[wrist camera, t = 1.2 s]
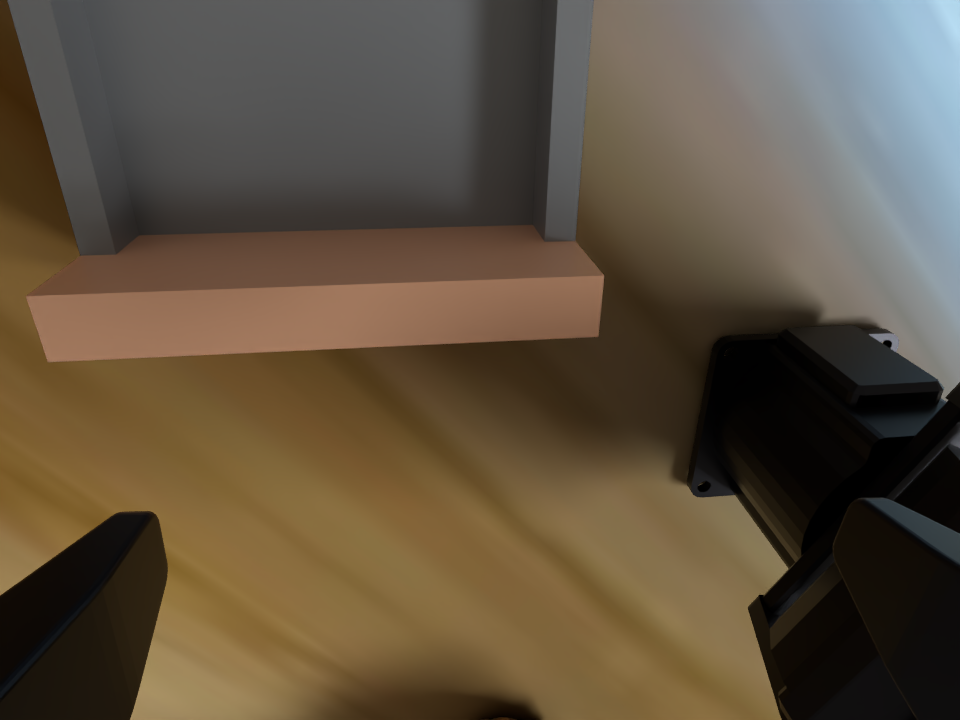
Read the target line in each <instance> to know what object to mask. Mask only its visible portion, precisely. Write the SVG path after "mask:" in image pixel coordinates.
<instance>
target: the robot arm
mask: <svg viewBox="0 0 960 720" xmlns="http://www.w3.org/2000/svg"><path fill="white" fill-rule="evenodd" d="M882 341H884V342H883V344H882V343H881V342H882ZM898 345H899V339H898V337H897V336H896V335H895V334H893V333H891V332H890V331H888V330H887V329H882V328H880V329H859V328H858V327H856V326H854V325H842V326H820V327H798V328H786V329H784V330H782V331H780V332H779V333H773V334H752V335H730V336H725V337H722V338H720V339H719V340H717V342H716V343H715V344H714V346H713V348H712V352H711V357H710V363H709V368H708V373H707V378H706V384H705V389H704V394H703V399H702V405H701V410H700V415H699V420H698V426H697V431H696V436H695V442H694V447H693V452H692V457H691V463H690V468H689V473H688V478H687V485H688V487H689V489H690V490H691V492H692V493H693V495H695V496H697V497H713V496H727V495H736V497H737V498H738V500H739V501H740V502H741V504H742V505H743V506H744V508H745V509H746V511H747V512H748V513H749V515H750V516H751V517H752V519H753V520H754V522H755V523H756V524H757V526H758V527H759V528H760V530H761V531H762V533H763V534H764V535H765V537H766V538H767V539H768V541H769V542H770V544H771V545H772V546H773V548H774V549H775V550H776V552H777V553H778V555H779V556H780V557H781V559H782V560H783V561H784V563H785V564H786V566H787V567H788V568H789V569H788V570H787V571H786V573H785V574H784V575H783V576H782V577H781V578H780V579H779V580H778V581H777V582H776V583H775V584H774V585H773V586H772V587H771V588H770V589H769V590H768V592H767V593H766V594H765V595H759V596H758V597H757V598H756V599H755V600H754V601H753V602H752V603H751V604H750V605H749V607H748V610H749V614H750V617H751V620H752V624H753V627H754V630H755V634H756V637H757V640H758V644H759V647H760V650H761V653H762V657H763V660H764V663H765V667H766V670H767V673H768V677H769V680H770V683H771V687H772V690H773V693H774V696H775V700H776V703H777V706H778V710H779V713H780V716H781V718H782V720H960V383H959V384H958V385H957V386H956V387H955V388H954V389H953V390H952V391H951V392H950V393H949V394H948V395H947V396H946V397H945V398H946V399H948V401H947V402H946V401H944V400H943V399H941V395H942V393H943V390H944V387H943V386H942V385H941V383H940V382H939V381H938V380H937V379H936V378H934V377H933V376H931V375H930V374H928V373H927V372H925V371H924V370H922V369H921V368H919V367H918V366H916V365H914V364H913V363H911V362H910V361H908V360H907V359H905V358H904V357H902V356H901V355H899V354H898V353H896V351H897V349H898ZM732 347H733V350H732V352H731V353H730V354H729V355H726V356H724V354H725V352H726V351H727V350H728V349H729V348H732ZM704 481H705V483H703V484H702V485H699V484H700V483H701V482H704ZM698 485H699V486H698ZM167 572H168V566H167V559H166V554H165V548H164V543H163V538H162V533H161V528H160V523H159V519H158V517H157V516H156V514H154V513H153V512H150V511H134V512H119V513H116V514H114V515H113V516H111V517H110V518H108V519H107V520H105V521H104V522H103V523H101V524H100V525H98V526H97V527H96V528H94V529H93V530H91V531H90V532H89V533H87V534H86V535H84V536H83V537H82V538H80V539H79V540H77V541H76V542H75V543H73V544H72V545H70V546H69V547H68V548H66V549H65V550H63V551H62V552H61V553H59V554H58V555H56V556H55V557H54V558H52V559H51V560H49V561H48V562H47V563H45V564H44V565H42V566H41V567H40V568H38V569H37V570H35V571H34V572H33V573H31V574H30V575H28V576H27V577H26V578H24V579H23V580H21V581H20V582H19V583H17V584H16V585H14V586H13V587H12V588H10V589H9V590H7V591H6V592H5V593H3V594H2V595H0V720H130V718H131V715H132V712H133V709H134V705H135V702H136V698H137V695H138V691H139V688H140V684H141V680H142V676H143V672H144V668H145V664H146V660H147V656H148V652H149V648H150V645H151V641H152V637H153V633H154V629H155V625H156V621H157V617H158V613H159V609H160V605H161V602H162V598H163V594H164V590H165V586H166V581H167Z"/></svg>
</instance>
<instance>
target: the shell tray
mask: <svg viewBox="0 0 960 720" xmlns="http://www.w3.org/2000/svg"><path fill="white" fill-rule="evenodd" d="M7 1H8V4H9V8H10V11H11V15H12V18H13V22H14V25H15V29H16V32H17V36H18V39H19V43H20V46H21V50H22V53H23V57H24V60H25V64H26V67H27V71H28V74H29V78H30V81H31V85H32V88H33V92H34V95H35V99H36V102H37V106H38V109H39V112H40V116H41V119H42V123H43V126H44V130H45V133H46V137H47V140H48V144H49V147H50V151H51V154H52V158H53V161H54V165H55V168H56V172H57V175H58V179H59V182H60V186H61V189H62V193H63V196H64V200H65V203H66V207H67V210H68V214H69V217H70V221H71V224H72V228H73V231H74V235H75V238H76V242H77V245H78V249H79V252H80V256H79V257H78V258H77V259H75V260H74V261H73V262H71V263H70V264H69V265H67V266H66V267H65V268H63V269H62V270H60V271H59V272H58V273H56V274H55V275H54V276H52V277H51V278H50V279H48V280H47V281H46V282H44V283H43V284H42V285H40V286H39V287H38V288H36V289H35V290H34V291H32V292H31V293H30V294H28V295H27V296H26V298H27V301H28V304H29V307H30V310H31V313H32V316H33V319H34V322H35V325H36V328H37V331H38V334H39V337H40V340H41V343H42V346H43V349H44V352H45V355H46V358H47V361H48V362H63V361H84V360H106V359H128V358H150V357H171V356H193V355H215V354H237V353H258V352H280V351H302V350H323V349H345V348H367V347H389V346H410V345H432V344H454V343H476V342H497V341H519V340H541V339H563V338H584V337H598V335H599V325H600V315H601V305H602V295H603V285H604V275H603V273H602V272H601V271H600V270H599V269H598V267H597V266H596V265H595V264H594V263H593V261H592V260H591V259H590V258H589V257H588V256H587V254H586V253H585V252H584V251H583V250H582V248H581V247H580V246H579V245H578V244H577V242H576V241H575V239H576V226H577V212H578V199H579V186H580V173H581V160H582V146H583V133H584V120H585V107H586V94H587V81H588V67H589V54H590V41H591V28H592V15H593V1H594V0H7Z"/></svg>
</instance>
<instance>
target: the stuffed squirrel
mask: <svg viewBox="0 0 960 720" xmlns="http://www.w3.org/2000/svg"><path fill="white" fill-rule="evenodd" d="M481 720H490V719H481ZM491 720H514V719H511V718H507V717H499V718H495V719H491ZM515 720H516V719H515Z"/></svg>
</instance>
